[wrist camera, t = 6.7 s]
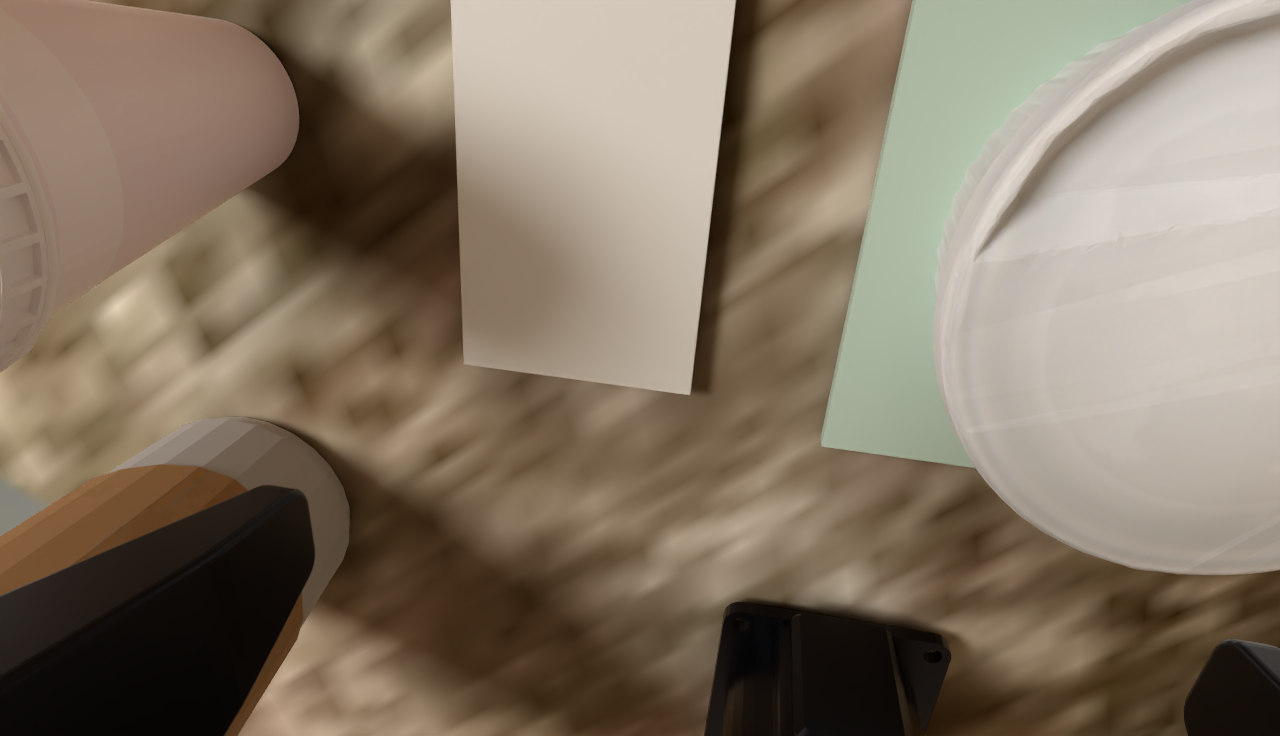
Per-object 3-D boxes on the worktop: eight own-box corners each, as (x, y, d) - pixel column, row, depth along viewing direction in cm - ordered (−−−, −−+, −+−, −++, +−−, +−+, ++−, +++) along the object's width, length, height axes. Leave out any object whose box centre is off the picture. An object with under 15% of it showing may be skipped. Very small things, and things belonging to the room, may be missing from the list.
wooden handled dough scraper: (1358, 513, 19) (1512, 651, 15) (820, 438, 20) (832, 547, 16) (1886, -344, 12) (2452, -510, 8) (990, -373, 13) (1086, -528, 9)
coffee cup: (112, 513, 26) (-593, 1080, 12) (175, 326, 22) (-740, 849, 9) (334, 636, 27) (-98, 1282, 13) (431, 476, 23) (-37, 1152, 10)
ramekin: (1273, -178, 14) (1519, -254, 10) (1536, 249, 17) (1830, 352, 12) (800, 222, 19) (812, 302, 14) (1063, 511, 21) (1146, 659, 17)
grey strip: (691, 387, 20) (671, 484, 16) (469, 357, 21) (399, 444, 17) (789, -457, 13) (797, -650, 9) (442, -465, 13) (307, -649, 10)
